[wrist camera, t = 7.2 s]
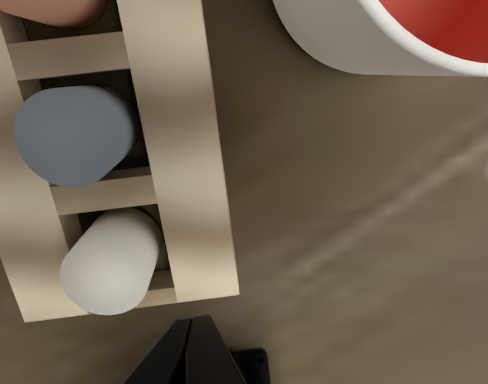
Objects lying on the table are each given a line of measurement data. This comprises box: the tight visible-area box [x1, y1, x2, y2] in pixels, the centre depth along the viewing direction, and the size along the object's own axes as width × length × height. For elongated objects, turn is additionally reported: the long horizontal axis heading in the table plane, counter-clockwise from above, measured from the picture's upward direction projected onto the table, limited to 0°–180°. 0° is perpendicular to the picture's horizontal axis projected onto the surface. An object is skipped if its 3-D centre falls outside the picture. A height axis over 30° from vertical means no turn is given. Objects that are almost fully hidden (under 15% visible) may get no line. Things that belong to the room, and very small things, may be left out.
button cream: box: [60, 207, 162, 315], centre depth 18 cm, size 4×4×4 cm
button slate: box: [14, 85, 139, 187], centre depth 16 cm, size 4×4×4 cm
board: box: [0, 0, 239, 322], centre depth 17 cm, size 20×12×2 cm, turn 6°
